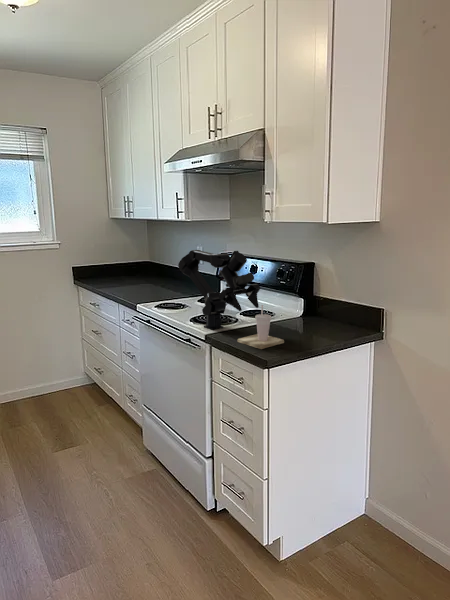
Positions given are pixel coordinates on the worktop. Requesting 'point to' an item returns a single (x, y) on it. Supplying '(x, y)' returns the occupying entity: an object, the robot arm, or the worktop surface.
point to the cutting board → (256, 343)
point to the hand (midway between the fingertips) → (249, 309)
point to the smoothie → (263, 325)
